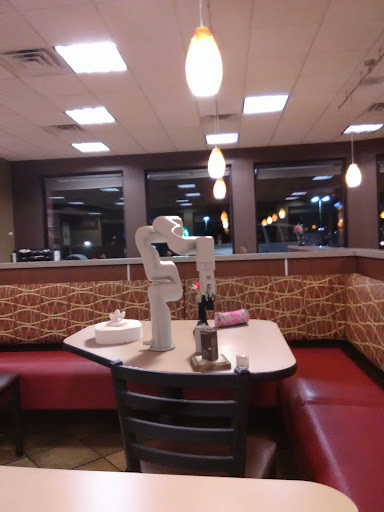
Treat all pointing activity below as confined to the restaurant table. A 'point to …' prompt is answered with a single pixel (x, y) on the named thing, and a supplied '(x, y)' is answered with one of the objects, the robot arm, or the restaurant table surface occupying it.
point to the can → (199, 336)
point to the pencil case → (231, 318)
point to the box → (209, 344)
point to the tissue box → (118, 330)
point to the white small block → (242, 360)
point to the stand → (210, 363)
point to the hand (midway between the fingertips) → (207, 308)
